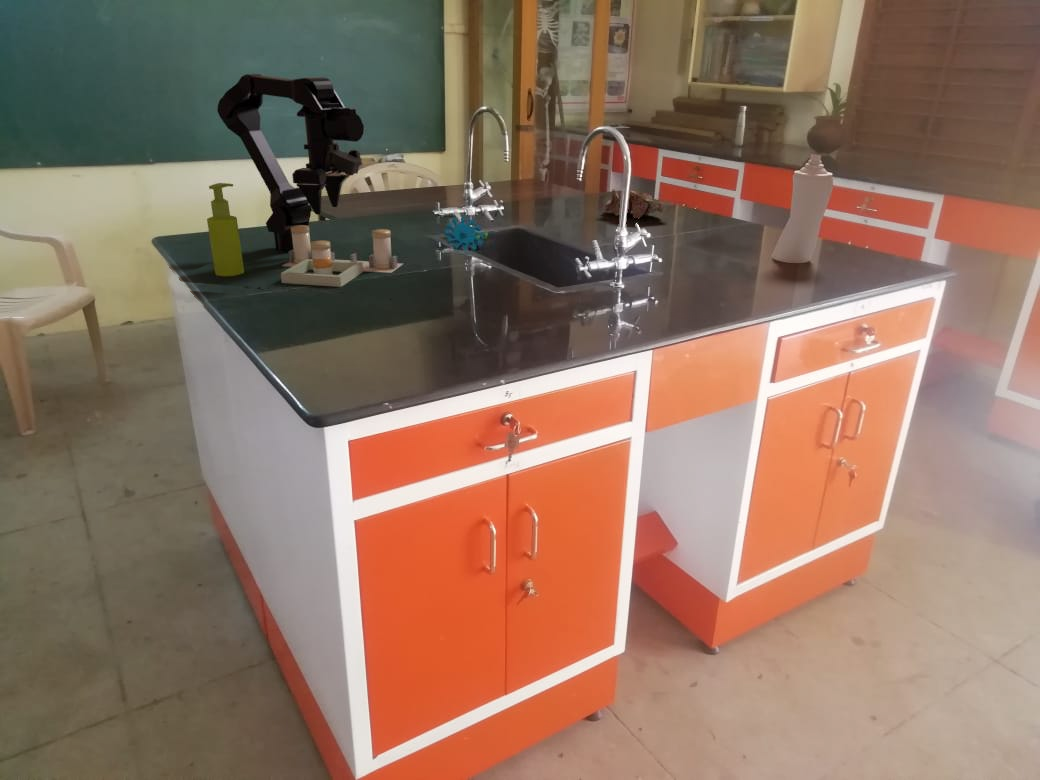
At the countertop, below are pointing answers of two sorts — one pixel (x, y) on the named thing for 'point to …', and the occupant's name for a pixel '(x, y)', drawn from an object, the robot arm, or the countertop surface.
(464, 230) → the gear
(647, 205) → the mineral formation
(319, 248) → the fuse marked
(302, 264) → the tray
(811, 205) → the curved beige bottle
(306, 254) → the fuse left
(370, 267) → the fuse holder
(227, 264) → the soap dispenser
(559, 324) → the countertop surface
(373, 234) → the fuse right
